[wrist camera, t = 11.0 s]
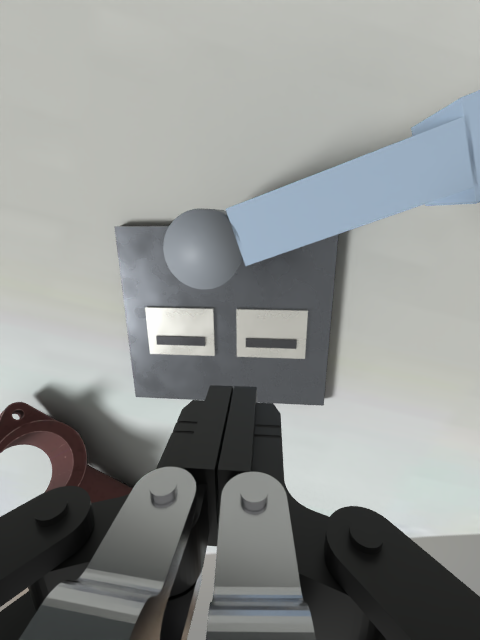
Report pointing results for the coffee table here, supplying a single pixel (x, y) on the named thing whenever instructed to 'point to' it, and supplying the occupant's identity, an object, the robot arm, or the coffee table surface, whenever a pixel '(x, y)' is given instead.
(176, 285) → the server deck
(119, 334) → the coffee table surface
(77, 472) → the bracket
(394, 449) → the coffee table surface
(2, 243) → the coffee table surface
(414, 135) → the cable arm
